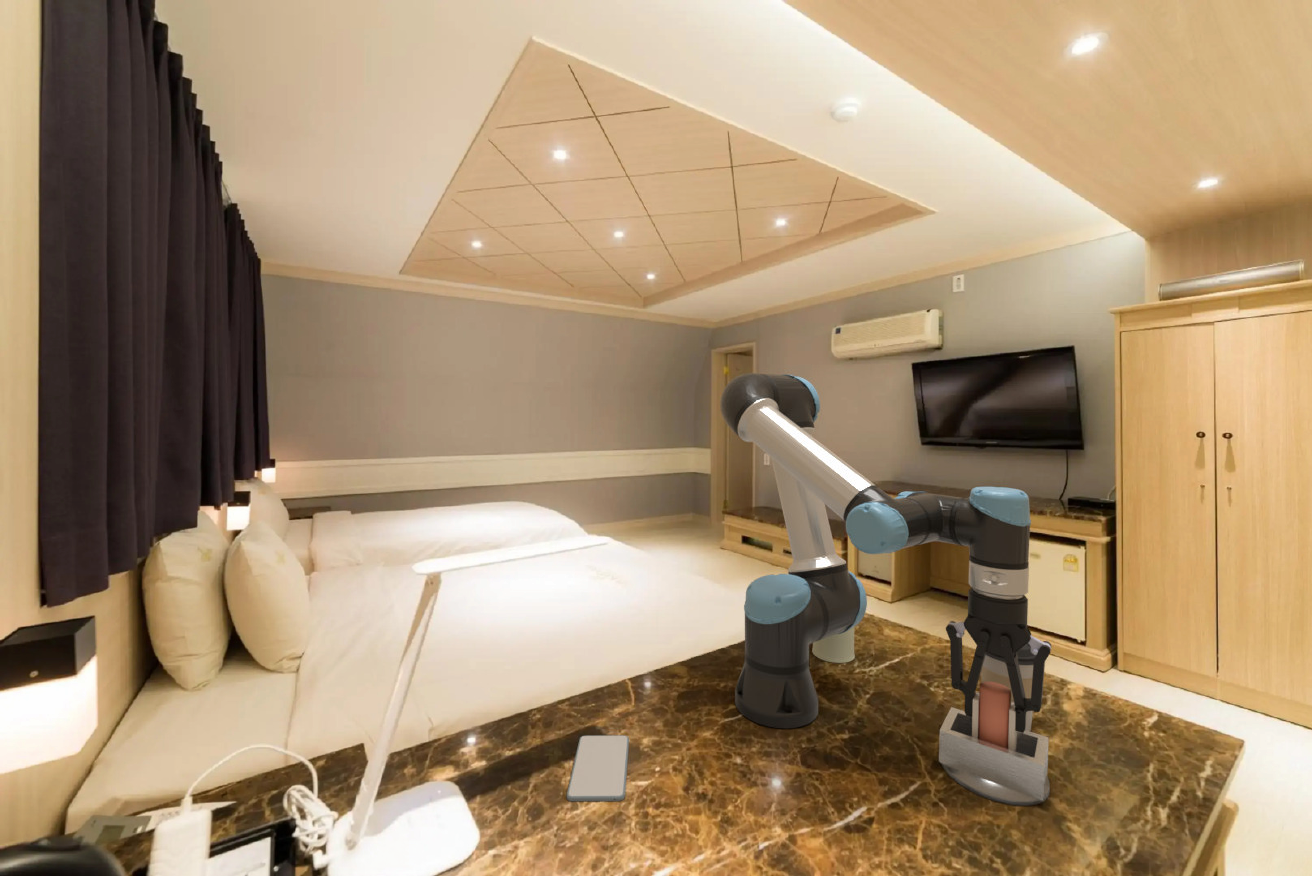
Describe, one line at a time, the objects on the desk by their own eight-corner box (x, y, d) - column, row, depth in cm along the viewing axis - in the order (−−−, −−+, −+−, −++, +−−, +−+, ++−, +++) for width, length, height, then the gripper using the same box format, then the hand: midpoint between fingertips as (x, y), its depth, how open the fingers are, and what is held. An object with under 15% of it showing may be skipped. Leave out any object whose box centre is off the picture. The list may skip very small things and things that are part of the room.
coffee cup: (1049, 741, 89) (1052, 652, 88) (989, 734, 91) (991, 648, 90) (1023, 711, 98) (1025, 630, 97) (969, 706, 100) (971, 627, 99)
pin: (975, 766, 81) (977, 689, 80) (980, 753, 84) (982, 678, 83) (1007, 778, 78) (1009, 697, 78) (1010, 764, 81) (1012, 687, 81)
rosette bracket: (930, 776, 80) (931, 737, 80) (950, 733, 91) (951, 699, 91) (1045, 821, 71) (1047, 778, 71) (1052, 768, 82) (1053, 730, 82)
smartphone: (629, 734, 90) (624, 797, 75) (629, 740, 90) (624, 803, 75) (579, 735, 90) (565, 797, 75) (579, 740, 90) (565, 804, 75)
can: (813, 660, 118) (814, 607, 117) (810, 643, 127) (811, 593, 126) (857, 665, 116) (858, 610, 115) (851, 647, 125) (852, 596, 124)
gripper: (929, 586, 82) (926, 733, 83) (1068, 611, 72) (1063, 781, 73) (940, 574, 88) (937, 713, 89) (1070, 596, 77) (1065, 754, 78)
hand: (993, 743), depth 81 cm, fingers closed on pin, 4 cm apart
